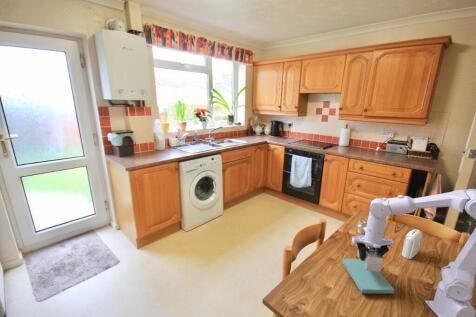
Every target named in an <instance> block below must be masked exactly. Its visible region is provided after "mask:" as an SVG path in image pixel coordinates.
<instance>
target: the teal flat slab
mask: <svg viewBox="0 0 476 317" xmlns="http://www.w3.org/2000/svg"><path fill="white" fill-rule="evenodd" d="M341 263H342V264H343V266H344V268H345V269H346V270H347V272H348V274H349V276H350V277H351V278H352V280H353V281H354V283H355V285H356V286H357V288H358V290H359V291H360V293H361V294H363V295H365V294H369V295H371V294H372V295H389V294H395V289H394V287H393V286H392V285H391V283H389V281H388V280H387V279H386V277H385V276H384V275H383V274H382V272H381V271H380V272H377V271H367V270H366V269H365V267H364V266H363V264H362V262H361V261H360V259H359V258H342V260H341Z"/></svg>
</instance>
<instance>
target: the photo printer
mask: <svg viewBox="0 0 476 317" xmlns="http://www.w3.org/2000/svg"><path fill="white" fill-rule="evenodd" d="M422 237H423V232H422V231H421V230H419V229H412V230H410V231H409V232H407V234H406V235H405V238H404V242H403V245H402V246H403V247H402V251H401V256H402V257H403V258H405V259H407V260H411V259H413V257H415V256H416V255H417V254H418V252H419V250H420V245H421V242H422V240H423V238H422Z"/></svg>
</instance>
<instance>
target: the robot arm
mask: <svg viewBox="0 0 476 317" xmlns="http://www.w3.org/2000/svg"><path fill="white" fill-rule="evenodd" d="M445 207H446V208H447V207H448V208H451V209H453V210H455V211H457V212H459V213H463V212H464V210H465V212H466V213H467V214H468V215H469V216H470V217H471V218H473V219H475V220H476V188H468V189H465V190H464V189H456V190H453V191H449V192H444V193H439V194H433V195H427V196H421V197H420V196H419V197H415V198H413V197H411V196H408V195H405V196H404V195H403V194H400V195H399V194H398V196H397V197H389V198H387V197H382V198H379V197H378V198H374V199H373V200H372V201H371V202H370V205H369V213H368V217H367V221H366V225H365V226H366V231H365V232H364V235H358V236H351V242H352V243H353V245H356V246H357V250H358V249H359V257H358V259H359V258H360V259H361V261H364V257H365V253H366V251H367V250H368V249H367V248H366V245H365V244H368V245H372V246H374V247H375V248H376V249H377V251H378V252H379V253H380V255H381V256H382V257H383V256H384V255H385V254H387V253H388V252H389V251H390V248H393V247H394V245H395V242H394V241H393V239H391V238H390V239H389V238H386V237H384V233H385V232H384V231H385V227H386V223H387V220H386V218H387V217H388V216H390V215H391V216H392V215H394V216H395V215H403V214H404V215H405V214H413V213H414V212H415V211H416V210H417V209H429V208H430V209H431V208H432V209H433V208H445ZM388 246H389V247H390V248H389V247H388ZM439 274H440V276H441V278H442V279H441V281H439V282H438V285H437V287H436V290H435V293H434V297H433V300H425V301H424V302H425V303H426V305H427V306H428V307H429V308H430V309H431V310H432V311H433V312H434V314H436V316H437V317H476V309H475V308H474V307H473V305H472V304H471V303H470V301H471V299H472V298H473V288H474V287H475V277H476V227H475V228H474V230H473V231H472V233H471V234H470V236H469V237H468V239H467V241H466V242H465V244H464V246H463V247H462V249H461V250H460V252H459V254H458V255H457V256H456V258H455V260H454V261H450V262H449V263H448V265H445V266H443V267H442V268H441V269H440V273H439ZM469 300H470V301H469Z"/></svg>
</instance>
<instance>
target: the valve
mask: <svg viewBox="0 0 476 317" xmlns="http://www.w3.org/2000/svg"><path fill="white" fill-rule="evenodd" d="M366 226H367V221H366V220H363V219H360V220H358V224H356V227H357V230H356V231H357V232H356V233H358V234H361V235H363V234H364V235H365V231H366Z"/></svg>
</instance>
